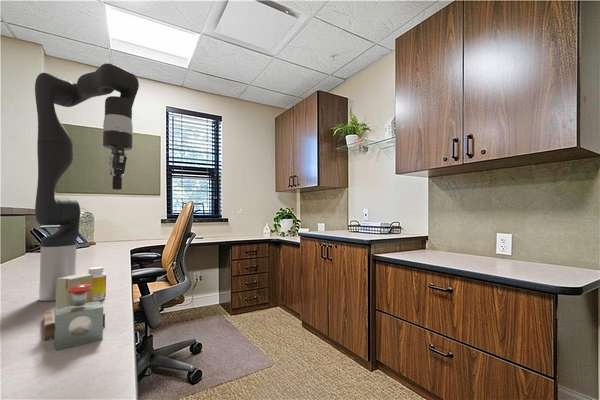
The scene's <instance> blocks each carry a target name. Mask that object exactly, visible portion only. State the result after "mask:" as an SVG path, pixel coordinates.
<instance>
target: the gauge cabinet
mask: <svg viewBox="0 0 600 400" xmlns="http://www.w3.org/2000/svg"><path fill="white" fill-rule="evenodd" d="M103 313H104V306H103V304H102V303H101V300H99V301H94V302H90V303H86V304H85V305H82V306H67V307H61V308H56V309H55V308H54V323H55V325H54V338H53V344H54V345H53V346H54V352H56V351H61V350H65V349H68V348H72V347H77V346H79V345H80V346H81V345H85V344H89V343H92V342H97V341H100V340H103V337H104V335H103V333H104V327H103Z"/></svg>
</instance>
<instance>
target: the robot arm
mask: <svg viewBox="0 0 600 400" xmlns="http://www.w3.org/2000/svg"><path fill="white" fill-rule="evenodd" d="M34 83H35V84H34V97H35V103H36V105H35V106H36V111H37V112H36V113H37V146H36V147H37V148H36V149H37V151H36V154H37V187H36V194H35V197H36V198H35V204H34V208H35V209H34V216H35V221H36V222H37V224H38V225H40V226H44V227H45V226H59V229H58V230H56V232H54V233H52V234H48V235H45V236H44V237H42V238H41V240H40V256H39V257H40V259H39V261H40V263H39V264H40V265H39V288H38V289H39V290H38V291H39V292H38V293H39V294H38V300H39V302H40V301H41V302H51V301H56V287H57V278H62V277H67V276H72V275H77V274H76V272H77V271H76V269H77V267H76V266H77V240H78V237H79V231H80V219H81V207H80V203H79V201H78V200H77V199H75V198H68V197H67V198H65V197H55V192H56V187H57V184H58V182H59V180H60V179H61V177H62V176H63V175H64V174H65V172H67V170H68V169H69V168H70V166H71V165H72V162H73V160H74V148H73V147H74V146H73V144H74V143H73V140H72V138H71V136H70V135H69V133H68V131H67V130H66V128H65V126H64V124H63V123H62V122H61V121H60V119H59V118H58V116H57V112H56V107H55V105H57V106H61V107H65V108H71V107H75V106H78V105H80V104H82V103H84V102H86V101H87V100H89V99H91V98H94V97H101V96H107V95H110V94H112V93H113V92H114V91H116V92H118V93H119V95H120V96H114V95H113V96H112V95H111V96H108V97H106V98H105V100H104V119H103V125H102V126H103V127H102V129H103V130H102V133H103V134H102V146H103V147H104V148H106V149H110V150H111V152H110V153H109V155H108V161H109V162H108V165H109V171H110V172H109V174H110V176H111V178H112V180H111V181H112V182H111V183H112V184H111V187H112V188H111V189H112V190H113V191H114V190H117V191H120V190H122V189H123V188H122V187H123V185H122V184H123V178H124V177H123V176H124V174H125V170H126V164H127V159H128V157H127V154H125V151H130V150H132V149H133V134H134V133H133V106H134V103H135V99H136V96H137V93H138V92H139V91H138V90H139V87H140V83H139V79H138V77H137V76H136V75H135V74H134V73H133V72H130V71H129V70H126V69H124V68H122V67H121V66H118V65H117V64H113V63H106V62H105V63H103V64H101V65H100V66H99V67H98V68H97V69H96V70H95V71H92V72H87V73H85V74H82V75H80V77H78V78H77V82H76V83H74V82H72V81H70V80H67V79H64V78H62V77H60V76H56V75H54V74H50V73H46V72H41V73H39V74H38V75H37V77H36V79H35V82H34Z"/></svg>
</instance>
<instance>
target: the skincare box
mask: <svg viewBox="0 0 600 400" xmlns="http://www.w3.org/2000/svg"><path fill="white" fill-rule="evenodd" d="M79 284H91V290H89V291H87V293H86V303H90V302H92V290H93V275H91V274H89V273H80V274H79V273H78V274H76V275H72V276H67V277H62V278H57V287H56V300H55V306H54V307H55V308H54V310H55V309H56V308H61V307H67V306H73V293H68V287H70V286H74V285H79Z"/></svg>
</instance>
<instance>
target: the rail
mask: <svg viewBox="0 0 600 400" xmlns="http://www.w3.org/2000/svg"><path fill="white" fill-rule="evenodd" d="M43 320H44V321H43V324H44V325H43V326H44V328H43V331H44V341H47V340H48V341H49V340H54V325H55V322H54V319H53V310H52V309H50V310H45V311H44V312H43ZM103 328H106V314H105V313H104V312H103Z"/></svg>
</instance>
